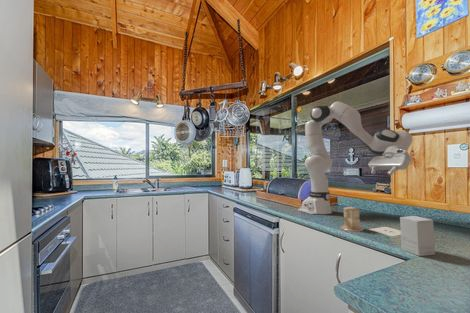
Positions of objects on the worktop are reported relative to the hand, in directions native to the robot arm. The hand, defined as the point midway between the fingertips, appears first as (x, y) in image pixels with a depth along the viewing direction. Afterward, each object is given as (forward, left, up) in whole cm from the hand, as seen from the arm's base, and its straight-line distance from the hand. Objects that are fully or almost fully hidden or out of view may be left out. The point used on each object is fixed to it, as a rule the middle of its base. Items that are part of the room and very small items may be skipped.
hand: (380, 173), depth 123 cm
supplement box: (+23, -28, -28) cm, 46 cm away
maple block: (-7, -18, -27) cm, 33 cm away
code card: (+6, -9, -27) cm, 30 cm away
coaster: (-7, -18, -27) cm, 34 cm away
